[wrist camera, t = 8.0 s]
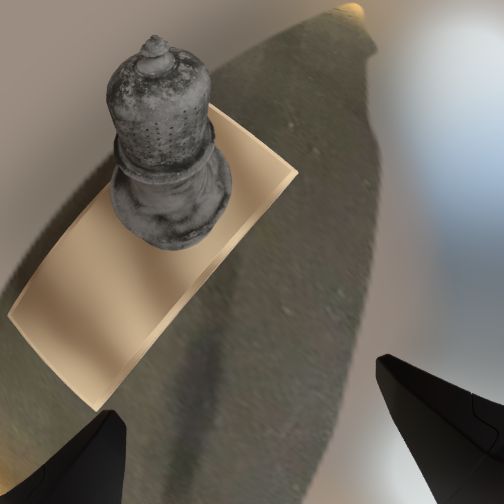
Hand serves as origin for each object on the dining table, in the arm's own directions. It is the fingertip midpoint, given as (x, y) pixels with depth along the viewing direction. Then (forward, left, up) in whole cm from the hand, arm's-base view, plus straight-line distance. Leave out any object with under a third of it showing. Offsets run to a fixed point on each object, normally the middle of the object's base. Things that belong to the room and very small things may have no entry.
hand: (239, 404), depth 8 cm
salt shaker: (+5, +8, -8) cm, 12 cm away
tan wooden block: (+2, +8, -12) cm, 14 cm away
